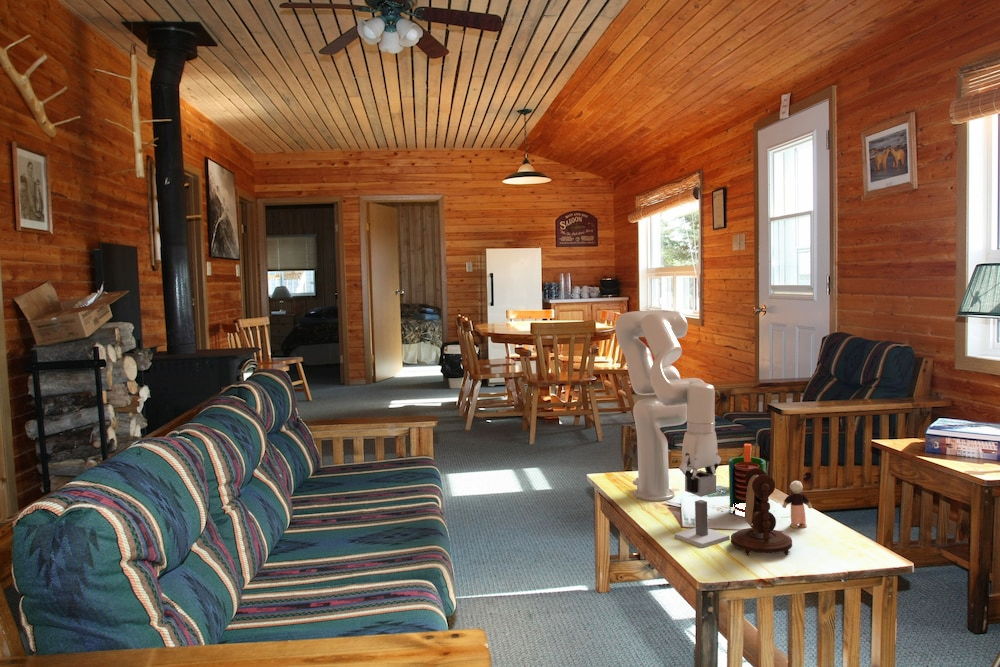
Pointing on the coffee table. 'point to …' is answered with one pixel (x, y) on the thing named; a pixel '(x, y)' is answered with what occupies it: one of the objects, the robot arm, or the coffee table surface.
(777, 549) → the dark brown upright piece
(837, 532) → the coffee table surface
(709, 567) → the coffee table surface
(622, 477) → the coffee table surface
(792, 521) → the grandmother figurine
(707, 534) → the shaft block
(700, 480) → the grey square holed block
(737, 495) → the motor
